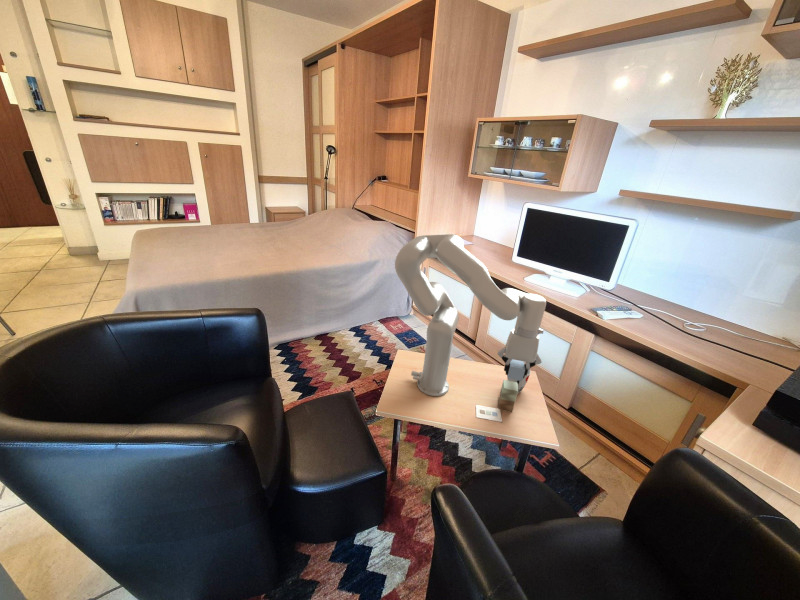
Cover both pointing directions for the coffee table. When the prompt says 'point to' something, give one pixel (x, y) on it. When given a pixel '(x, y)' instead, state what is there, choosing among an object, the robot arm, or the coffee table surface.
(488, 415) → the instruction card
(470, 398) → the coffee table surface
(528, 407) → the coffee table surface
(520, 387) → the cup
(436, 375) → the robot arm
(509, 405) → the tower base
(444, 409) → the coffee table surface
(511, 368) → the blue brick
